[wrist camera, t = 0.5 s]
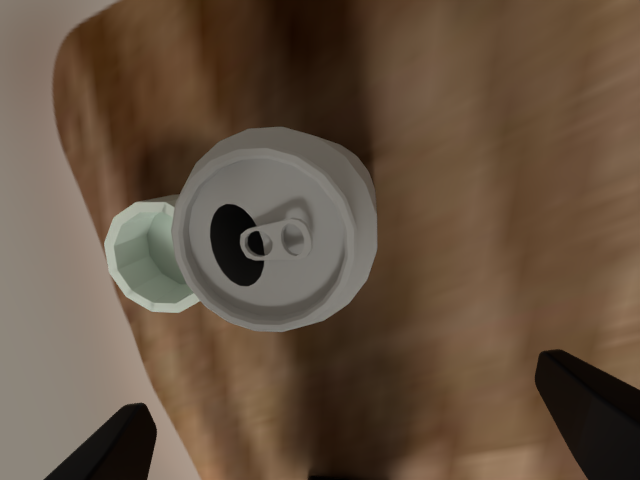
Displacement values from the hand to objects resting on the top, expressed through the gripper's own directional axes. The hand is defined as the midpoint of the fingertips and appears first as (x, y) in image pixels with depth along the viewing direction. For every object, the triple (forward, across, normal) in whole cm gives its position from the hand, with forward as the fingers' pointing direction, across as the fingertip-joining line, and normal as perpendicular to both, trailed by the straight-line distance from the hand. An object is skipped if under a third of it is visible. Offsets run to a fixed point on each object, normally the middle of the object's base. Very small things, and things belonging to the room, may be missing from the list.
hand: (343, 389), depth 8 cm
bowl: (+17, +9, +3) cm, 19 cm away
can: (+16, 0, +1) cm, 16 cm away
